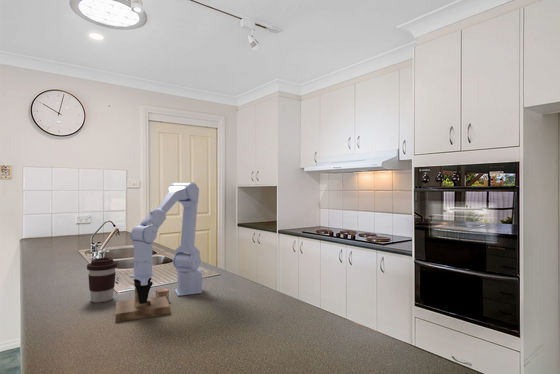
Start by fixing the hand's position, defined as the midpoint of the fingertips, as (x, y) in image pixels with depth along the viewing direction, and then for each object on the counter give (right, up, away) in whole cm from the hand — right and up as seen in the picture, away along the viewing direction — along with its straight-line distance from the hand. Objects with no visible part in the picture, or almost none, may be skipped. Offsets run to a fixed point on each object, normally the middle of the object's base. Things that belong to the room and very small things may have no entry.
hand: (142, 301), depth 109 cm
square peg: (-1, -3, 0) cm, 3 cm away
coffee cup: (-20, -4, +11) cm, 23 cm away
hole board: (0, -3, 0) cm, 3 cm away
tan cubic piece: (+3, -4, +10) cm, 11 cm away
